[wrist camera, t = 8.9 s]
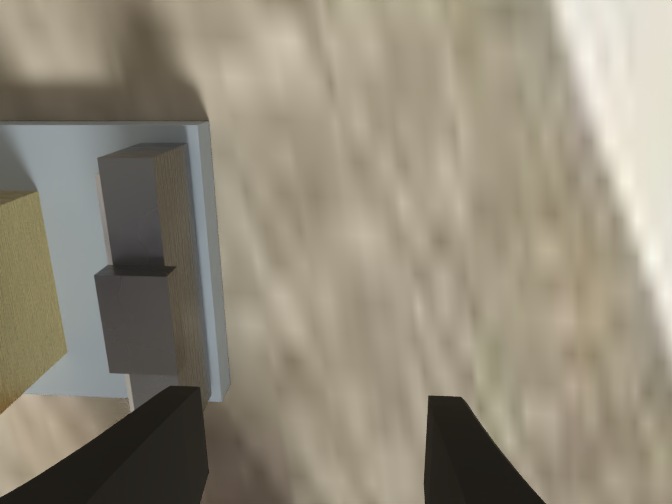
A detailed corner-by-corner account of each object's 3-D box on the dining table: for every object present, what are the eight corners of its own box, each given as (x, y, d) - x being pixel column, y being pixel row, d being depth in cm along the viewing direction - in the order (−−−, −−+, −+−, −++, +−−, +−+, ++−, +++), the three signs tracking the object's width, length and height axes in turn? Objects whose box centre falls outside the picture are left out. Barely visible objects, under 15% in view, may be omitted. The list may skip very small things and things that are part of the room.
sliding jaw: (163, 392, 20) (118, 460, 17) (131, 142, 17) (70, 162, 14) (221, 395, 20) (188, 463, 17) (199, 142, 17) (153, 163, 14)
